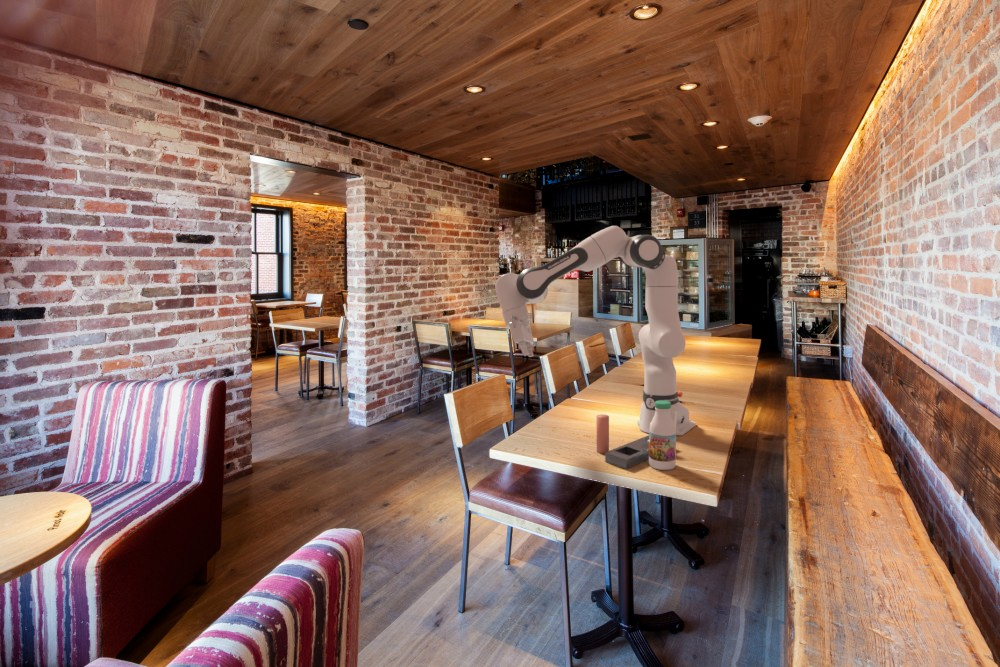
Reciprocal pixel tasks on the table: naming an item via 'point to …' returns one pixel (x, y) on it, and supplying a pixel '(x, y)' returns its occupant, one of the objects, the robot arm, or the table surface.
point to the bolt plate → (629, 453)
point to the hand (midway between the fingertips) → (528, 355)
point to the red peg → (602, 433)
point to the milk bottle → (662, 438)
